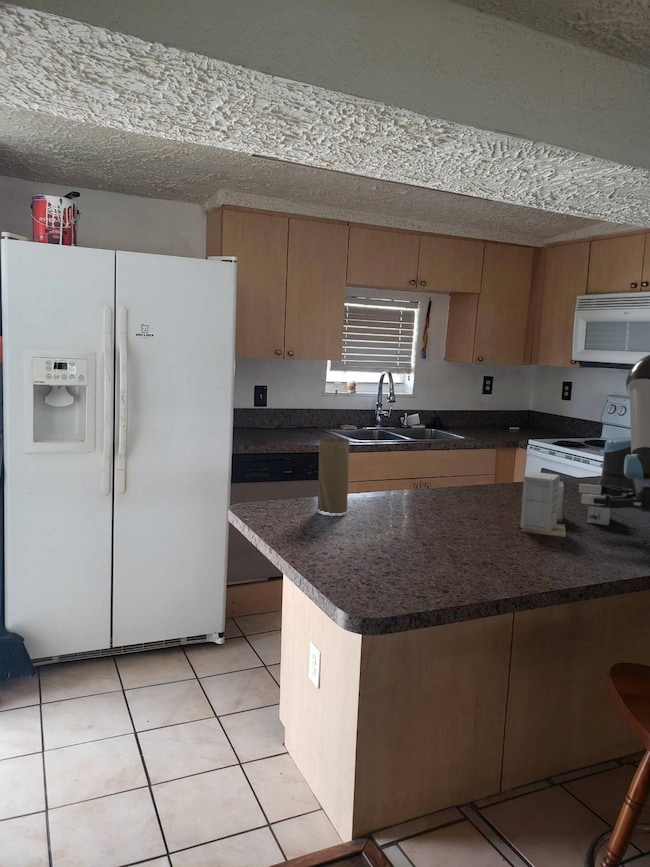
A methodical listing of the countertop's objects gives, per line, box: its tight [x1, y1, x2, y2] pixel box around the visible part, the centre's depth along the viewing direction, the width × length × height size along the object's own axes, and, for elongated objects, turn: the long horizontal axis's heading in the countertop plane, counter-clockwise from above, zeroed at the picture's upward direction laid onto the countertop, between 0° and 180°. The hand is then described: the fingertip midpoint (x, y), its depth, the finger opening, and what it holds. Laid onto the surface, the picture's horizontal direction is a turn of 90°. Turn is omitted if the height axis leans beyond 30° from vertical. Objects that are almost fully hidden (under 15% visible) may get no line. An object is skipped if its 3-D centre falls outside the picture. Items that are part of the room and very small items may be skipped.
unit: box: [557, 481, 565, 523], centre depth 221 cm, size 9×8×12 cm
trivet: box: [521, 523, 567, 538], centre depth 209 cm, size 12×13×1 cm
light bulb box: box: [587, 493, 612, 526], centre depth 220 cm, size 11×7×11 cm, turn 155°
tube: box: [317, 436, 350, 513], centre depth 219 cm, size 10×10×25 cm
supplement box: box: [520, 471, 561, 532], centre depth 208 cm, size 10×9×17 cm
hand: (580, 493), depth 203 cm, fingers open, 13 cm apart
